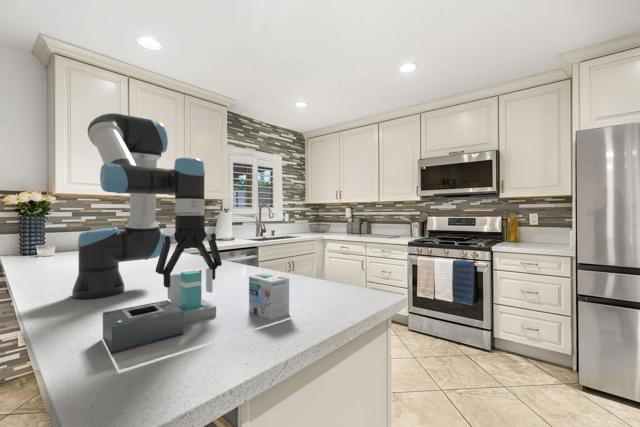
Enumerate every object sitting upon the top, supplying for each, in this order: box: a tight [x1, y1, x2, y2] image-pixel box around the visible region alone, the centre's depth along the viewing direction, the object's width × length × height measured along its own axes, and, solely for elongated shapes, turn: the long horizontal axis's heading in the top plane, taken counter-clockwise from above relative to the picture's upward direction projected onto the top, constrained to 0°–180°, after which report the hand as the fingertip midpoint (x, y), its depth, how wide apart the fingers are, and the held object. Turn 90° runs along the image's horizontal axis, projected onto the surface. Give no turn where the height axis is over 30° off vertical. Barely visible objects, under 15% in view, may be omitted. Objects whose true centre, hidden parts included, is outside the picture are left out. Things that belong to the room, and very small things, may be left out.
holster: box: [175, 298, 217, 325], centre depth 83 cm, size 10×10×3 cm
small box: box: [170, 268, 202, 305], centre depth 94 cm, size 8×6×10 cm
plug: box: [180, 269, 202, 311], centre depth 83 cm, size 4×4×12 cm
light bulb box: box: [248, 272, 290, 321], centre depth 85 cm, size 11×7×11 cm, turn 47°
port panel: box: [102, 299, 185, 357], centre depth 70 cm, size 12×14×6 cm
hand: (190, 295), depth 83 cm, fingers open, 10 cm apart
